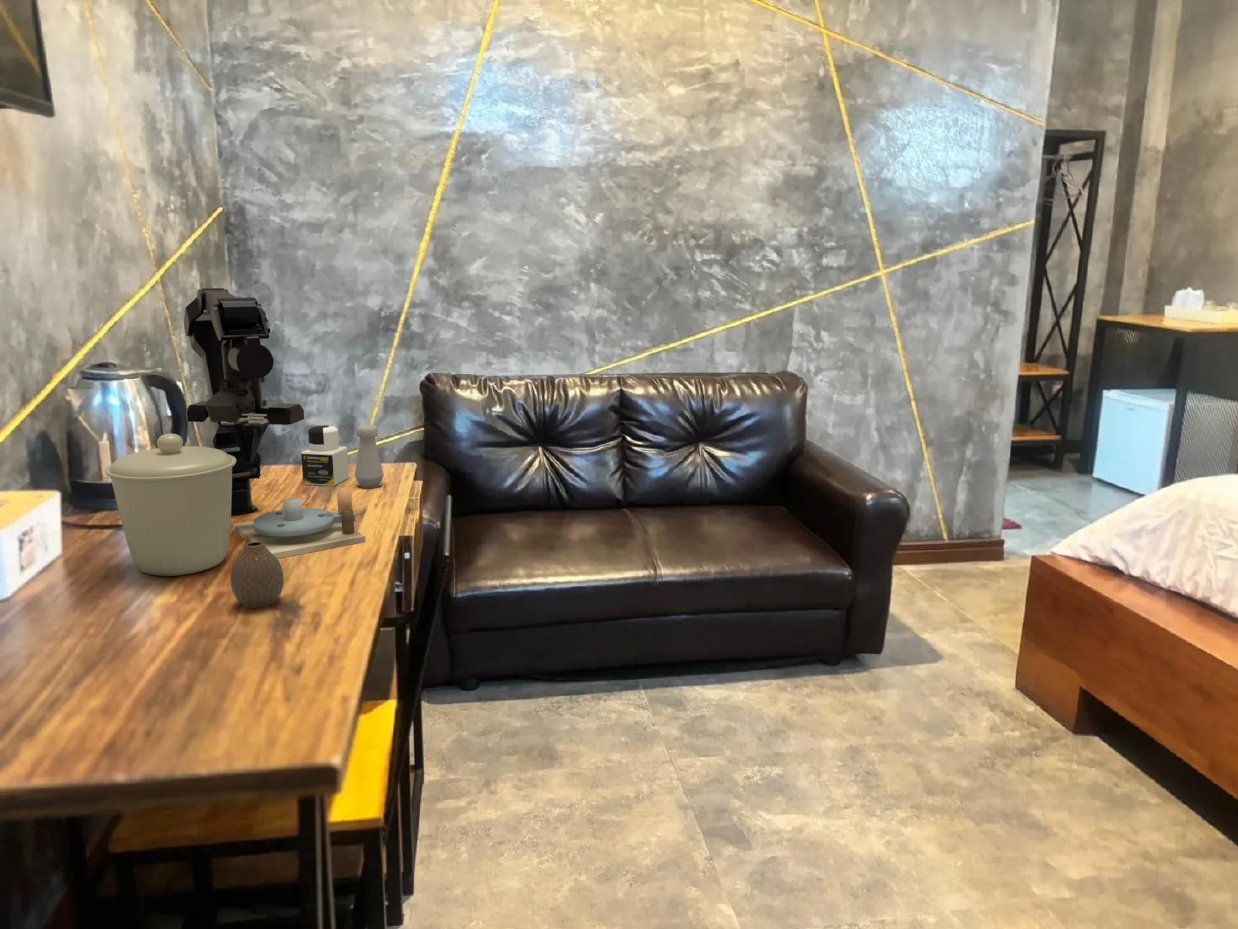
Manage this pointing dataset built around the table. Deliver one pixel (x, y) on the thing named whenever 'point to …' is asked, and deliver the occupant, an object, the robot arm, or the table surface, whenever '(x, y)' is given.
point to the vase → (256, 576)
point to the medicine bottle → (324, 458)
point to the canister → (174, 506)
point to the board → (306, 537)
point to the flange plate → (301, 518)
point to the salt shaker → (368, 458)
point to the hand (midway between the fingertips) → (249, 461)
